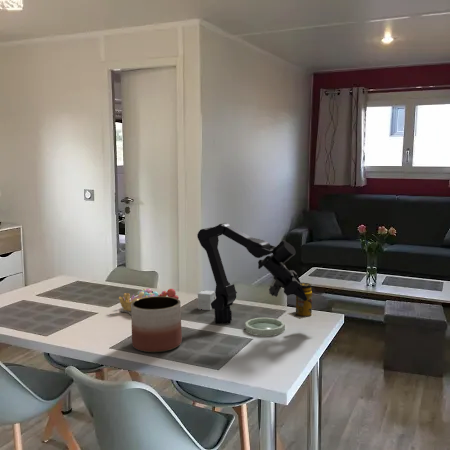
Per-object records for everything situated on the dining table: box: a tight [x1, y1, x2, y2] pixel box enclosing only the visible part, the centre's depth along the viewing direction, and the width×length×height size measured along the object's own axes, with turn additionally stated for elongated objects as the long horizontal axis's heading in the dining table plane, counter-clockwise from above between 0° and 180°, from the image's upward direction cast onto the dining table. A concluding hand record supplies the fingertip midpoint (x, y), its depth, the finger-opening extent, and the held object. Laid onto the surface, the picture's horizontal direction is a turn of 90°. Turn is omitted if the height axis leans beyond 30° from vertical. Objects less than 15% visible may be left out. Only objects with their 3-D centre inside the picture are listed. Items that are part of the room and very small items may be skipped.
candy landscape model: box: [118, 288, 180, 316], centre depth 225 cm, size 25×24×9 cm
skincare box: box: [197, 290, 216, 311], centre depth 225 cm, size 6×6×7 cm
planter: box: [130, 296, 183, 353], centre depth 180 cm, size 18×18×16 cm
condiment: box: [287, 282, 316, 320], centre depth 191 cm, size 7×8×12 cm
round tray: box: [244, 317, 286, 337], centre depth 196 cm, size 15×15×2 cm
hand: (305, 297), depth 191 cm, fingers closed on condiment, 6 cm apart
